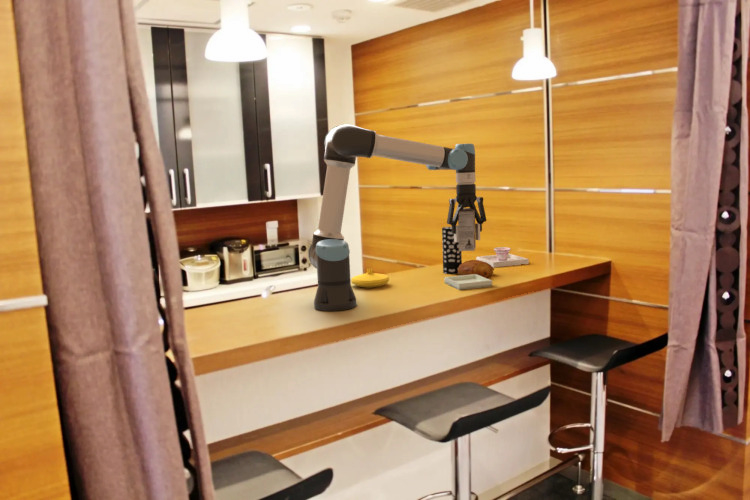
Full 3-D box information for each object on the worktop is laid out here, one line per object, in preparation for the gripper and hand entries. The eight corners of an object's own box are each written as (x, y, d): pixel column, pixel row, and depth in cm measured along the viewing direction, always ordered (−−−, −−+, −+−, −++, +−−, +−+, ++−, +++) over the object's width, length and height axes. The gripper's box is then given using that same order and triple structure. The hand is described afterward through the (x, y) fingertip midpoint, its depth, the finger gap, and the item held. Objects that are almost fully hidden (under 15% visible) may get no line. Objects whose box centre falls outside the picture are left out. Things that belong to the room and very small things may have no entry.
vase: (370, 280, 266) (370, 264, 265) (397, 285, 254) (396, 268, 253) (343, 287, 255) (342, 270, 254) (370, 291, 244) (369, 274, 242)
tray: (459, 290, 239) (459, 283, 239) (444, 283, 254) (444, 277, 253) (492, 286, 243) (492, 280, 243) (475, 279, 257) (475, 274, 257)
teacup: (486, 260, 300) (486, 247, 299) (510, 258, 301) (510, 246, 301) (494, 264, 288) (494, 251, 287) (519, 262, 290) (519, 249, 289)
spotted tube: (465, 272, 275) (464, 227, 272) (451, 274, 270) (450, 229, 267) (453, 269, 282) (452, 226, 279) (439, 272, 277) (438, 228, 274)
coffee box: (459, 247, 251) (459, 208, 249) (475, 247, 250) (475, 207, 248) (458, 251, 242) (457, 210, 240) (475, 250, 241) (474, 209, 239)
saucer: (493, 267, 283) (493, 262, 283) (476, 261, 301) (476, 256, 300) (528, 264, 288) (528, 259, 288) (510, 258, 305) (510, 253, 305)
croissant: (471, 285, 257) (472, 267, 255) (452, 274, 271) (452, 257, 269) (500, 280, 263) (501, 262, 261) (480, 270, 277) (480, 253, 274)
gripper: (444, 185, 236) (445, 244, 239) (495, 182, 242) (496, 239, 245) (436, 184, 243) (438, 241, 247) (486, 181, 249) (487, 237, 252)
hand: (467, 240), depth 246 cm, fingers closed on coffee box, 9 cm apart
